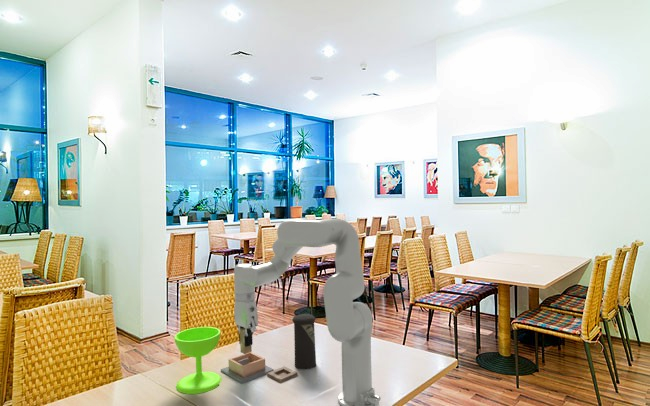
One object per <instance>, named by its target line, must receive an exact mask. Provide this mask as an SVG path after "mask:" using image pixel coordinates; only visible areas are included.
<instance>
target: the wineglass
mask: <svg viewBox="0 0 650 406" xmlns="http://www.w3.org/2000/svg"><path fill="white" fill-rule="evenodd" d="M221 332H222V331H221V329H220V328H218V327H215V326H197V327H191V328H188V329H184V330H182V331H180V332H177V333H176V334H175V335H174V343H175V345H176V347H177V349H178V351H179V352H181V353H182V354H183V355H185V356H187V357H189V358H195V368H196V369H195V370H196V372H194V373H191V374H188V375H186V376H184V377H182V378H181V379H180V380H179V381H178V382H177V383H176V386H175V389H176V391H177V392H178V393H181V392H182V393H181V394H185V393H186V394H187V395H196V394H202V393H206V392H209V391H212V390H214V389H216V388H218V387H219V386H220V384H221V382H222V376H221V375H219V374H218V373H216V372H212V371H202V370H203V368H202V366H203V365H202V364H203V363H202V357H204V356H207V355H208V354H210V353H211V352H212V351H213V350H215V348H216V347H217V345H218V344H219V341H220V339H221Z"/></svg>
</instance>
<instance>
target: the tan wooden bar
mask: <svg viewBox="0 0 650 406" xmlns="http://www.w3.org/2000/svg"><path fill="white" fill-rule="evenodd" d="M249 330H250V329H248V331H249ZM239 334H240V345H239V346H240V353H241V354H242V355H243V354H247V353H250V352H252V353H253V351H252V347H253V346H252V345H250V346H247V347H245V342H244V336H246V335H245V328H241V329H240V333H239Z"/></svg>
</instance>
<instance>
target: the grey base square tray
mask: <svg viewBox="0 0 650 406" xmlns="http://www.w3.org/2000/svg"><path fill="white" fill-rule="evenodd" d="M274 370H275V369H274V368H272V367H270V366H268V365H266V358H265V357H263V356H261V355H259V354H257V353H254V352H253V351H252V352H250V353H247V354H243V353H242V354H240V355H237V356H234V357H232V358H228V366H227V367H223V368H220V372H222V373H223V374H225V375H227V376H228V377H230V378H232V379H233V380H235V381H237V382H239V383H240V384H244V383H247V382H250V381H252V380H254V379H257V378H260V377H262V376H265V375H267V373H269V372H271V371H274Z"/></svg>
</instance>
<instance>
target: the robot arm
mask: <svg viewBox="0 0 650 406" xmlns="http://www.w3.org/2000/svg"><path fill="white" fill-rule="evenodd" d="M276 235H277V239H276V240H275V241H273V243H272V246H271V248H272V249H271V250H272V251H273V254H274V256H273V257H272V258H271V259H270V260H269V261H268V262H265V263H261V264H258V265H253V264H251V263H239V264H238V263H237V264H235V266H234V268H233V269H234V270H233V274H234V275H233V277H234V278H233V279H234V280H233V282H234V283H233V284H234V313H233V314H234V316H233V317H234V323H235V326H236V327H237V331H238V339H239V341H238V342H239V343H238V344H240V329H241V328H245V335H246V336H244V342H245V347H247V346H250V345H251V346H253V344H254V343H253V335H254V332H256V331H257V327H258V326H259V317H258V316H259V315H258V308H257V302H256V300H255V299H256V298H255V297H256V295H255V294H256V293H255V292H256V291H255V290H256V289H255V288H256V287H257V288H258V287H261V286H264V285H266V284H271V283H274V282H275V281H277V280H278V279H279V278H280V277H281V276H282V275H283V274H285V272H286V271H287V270H288V269H289V267H290V265H291V262H292V259H293V257H295V256H296V255H297V253H299V251H301V249H302V248H303V247H305V248H306V247H307V248H322V247H327V246H331V245H335V252H334V264H335V274H332V275H331V276H330V277H328V278H327V280H326V281H325V283H324V286H323V291H322V292H323V293H322V294H323V302H324V310H325V318H326V326H327V330H328V332H329V335H330V336H331V337H332V338H333V340H335V341H337V342H340V343H341V377H342V378H341V379H342V382H341V383H342V384H341V385H342V391H341V392H340V393H338V396H337V402H338V403H339V405H340V406H379V404H380V401H381V396H379V395H377V394H376V393H375V392H376V390H375V388H374V387H373V382H372V380H373V378H372V332H373V330H372V329H373V313H372V310H371V309H370V307H369V305H368V304H366V303H364V302H361V301H354V300H356V299H358V298H360V297H361V296H362V295H363V294H364V292H365V288H366V286H365V280H364V271H363V263H362V258H361V257H362V256H361V248H360V247H361V246H360V239H359V235H358V232H357V230H356V229H355V227H354V226H353V225H352V224H351V223H350V222H348V221H346V220H345V219H341V218H327V219H326V218H325V219H319V220H309V219H307V218H304V217H299V218H290V219H289V218H288V219H285V220H284V221H282V222H281V223H280V224H278V228H277V232H276ZM248 329H250V330H249V331H248Z"/></svg>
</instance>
